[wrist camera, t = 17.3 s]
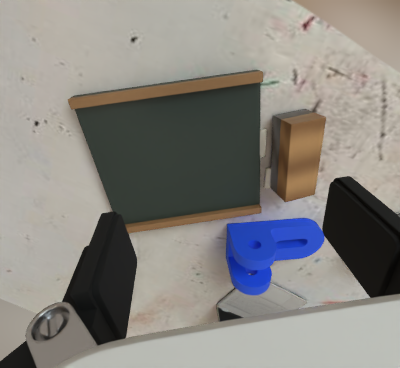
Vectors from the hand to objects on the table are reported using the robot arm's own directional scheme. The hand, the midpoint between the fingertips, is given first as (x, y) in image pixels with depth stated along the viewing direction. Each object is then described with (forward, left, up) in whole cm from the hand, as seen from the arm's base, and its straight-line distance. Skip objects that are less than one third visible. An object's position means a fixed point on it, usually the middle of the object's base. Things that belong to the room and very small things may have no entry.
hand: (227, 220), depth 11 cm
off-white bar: (+15, +11, -26) cm, 31 cm away
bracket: (+28, +12, -26) cm, 40 cm away
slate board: (+9, -3, -26) cm, 28 cm away
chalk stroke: (+8, +10, -26) cm, 29 cm away
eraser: (+10, +13, -26) cm, 31 cm away
